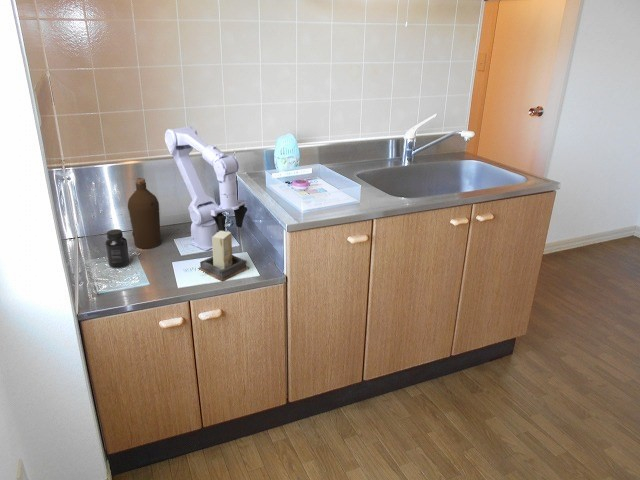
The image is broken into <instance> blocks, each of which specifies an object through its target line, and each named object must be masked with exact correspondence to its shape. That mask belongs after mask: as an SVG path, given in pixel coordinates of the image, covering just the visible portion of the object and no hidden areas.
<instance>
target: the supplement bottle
mask: <svg viewBox="0 0 640 480" xmlns="http://www.w3.org/2000/svg"><path fill="white" fill-rule="evenodd" d="M106 237H107V238H106V240H105V242H104V244H105V245H104V246H105V252H106V257H107V264H108V266H109V267H110V268H112V269H121V268H125V267H127V266H129V264H130V254H129V247H128V240H127V238H125V237H124V235H123V230H122V229H119V228H118V229H116V228H115V229H110V230H108V231H107V232H106Z"/></svg>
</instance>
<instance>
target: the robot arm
mask: <svg viewBox="0 0 640 480" xmlns="http://www.w3.org/2000/svg"><path fill="white" fill-rule="evenodd" d="M164 142H165V145H166V147H167V150H168V151H169V154H170V155H171V156H173V160H174V161H175V163H176V166H177V168H178V171H179V174H180V176H181V177H182V180H183V182H184V184H185V187H186V189H187V191H188V194H189V197H190V198H191V201H190V204H189V205H188V207H187V208H188V213H189V217H190V220H191V226H190V236H191V241H190V242H189V244H190V245H192V246H195V247H196V248H198V249H200V250H203V251H209V250H213V248H212V237H213V236H214V235H215V234H216V233H218V232H219V231H226V220H227V216H226V215H224V214H223V213H227V212H229V211H231V210H233V213H234V218H235V225H236V228H240V229H241V228H242V227H243V222H244V218H245V216H246V214H247V212H248V207H247V206H248V201H247V200H246V199H243V198H242V199H239V200H238V194H237V193H238V192H237V191H238V189H237V177H236V174H237V173H238V171H239V169H240V166H239V161H238V159H237V158H236V157H235V155H228V154H226V153H225V152H222V151H221V150H220V149H218V147H217V145H215V144H211V145H210V144H209V145H208V144H207V142H205V141H204V140H203V139H202V138H201V137H200V136H199V135H198V131H197V129H195V128H194V127H193V126H191V125H187V126H185V127H184V126H183V127H178V128H170V129H169V128H168V129H167V130H165V133H164ZM194 149H195V150H196V151H198V152H199V153H200V154H201V156H202V159H203V160H204V161H206V163H208V164H209V165H210V166H211V167H213V169H214V173H215V174H216V179H217V181H218V187H219V201H220V204H219V205H218V204H217V202H216V201H215V198H214V197H211V196H209V195H207V194H206V192H205V189H204V187H203V184H202V182H201V180H200V178H199V176H198V174H197V171H196V169H195V166H194V164H193V162H192V160H191V158H190V157H191V156H190V153H191V152H192V151H193V150H194ZM217 228H218V229H217ZM217 230H218V231H217Z"/></svg>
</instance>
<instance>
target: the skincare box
mask: <svg viewBox="0 0 640 480" xmlns="http://www.w3.org/2000/svg"><path fill="white" fill-rule="evenodd" d="M232 238H233V237H232V232H231V231H226V230H225V231H219V230H218V231H217V233H216V234H215V235H214V236H213V237H212V257H213V266H215V267H218V268H220V269H222V270H223V269H225V268H227V267H229V266H231V265H232V255H233V245H232V244H233V243H232V242H233V241H232Z"/></svg>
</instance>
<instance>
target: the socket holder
mask: <svg viewBox="0 0 640 480" xmlns="http://www.w3.org/2000/svg"><path fill="white" fill-rule="evenodd" d="M199 263H200V265H199V267H198V268H197V270H198V269H199V270H201V271H203V272H202V273H204V272H205V273H204V274H206V275H208V276H210V277H212V278H214V279H216V280H218V281H220V282H224V281H226V280H228V279H229V280H230V279H231V278H233V277H234V276H237V275H239V274H241V273H243V272H245V271H247V270H249V269H250V267H249V266H248V265H247V260H245V259H243V258H240V257H238V256H236V255H234V254H232V265H231V266H229V267H227V268H225V269H223V270H222V269H220V268H218V267H215V266H213V256H210V257H208V258H206V259H204V260H201V261H200V262H199ZM199 270H198V271H199ZM201 271H200V272H201Z"/></svg>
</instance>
